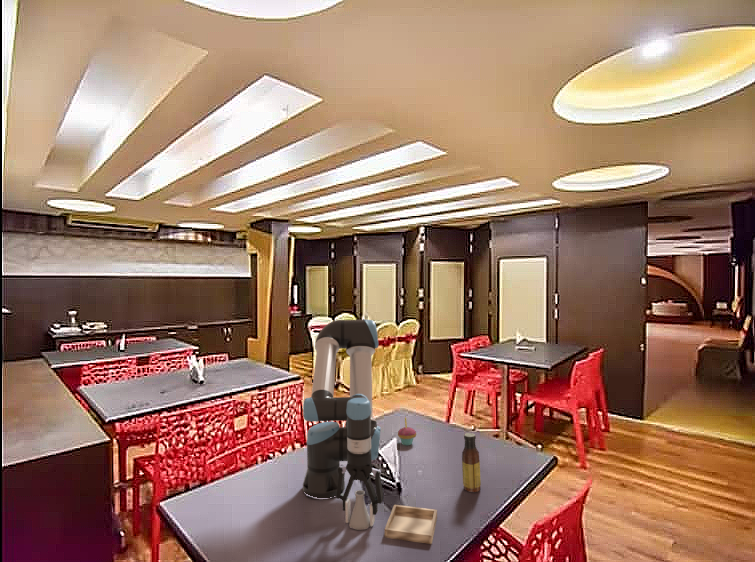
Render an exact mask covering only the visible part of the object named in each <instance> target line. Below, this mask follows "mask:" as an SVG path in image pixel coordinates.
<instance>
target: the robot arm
mask: <svg viewBox="0 0 755 562" xmlns="http://www.w3.org/2000/svg"><path fill="white" fill-rule="evenodd" d="M378 336H379V335H378V330H377V325H376V322H375V321H374V320H372V319H365V318H362V319H336V320H333V321H331V322H329V323H328V324H326V325H324V327H322V329H321V330H320V331H319V333H318V334H317V336H316V338H315V342H314V349H315V351H316V356H315V363H314V371H313V380H312V388H311V397H306V398H304V400H303V404H302V405H303V407H302V408H303V409H302V411H303V412H302V413H303V415H302V416H303V419H304V421H307V422H316V424H314V425H313V426H311V427H310V428H309V429H308V430H307V433H306V442H305V443H306V449H307V451H306V452H307V453H306V457H307V458H306V459H307V460H306V461H307V470H306V472H305V476H304V479H303V482H302V492H303V491H304V492H305V493H306V494H308V495H310V496H313V497H317V498H330V497H334V496H336V497H334V498H336V499H338V500H341V501H342V511H345V512H344V513H345V523H346V524H349V520H350V517H351V497H349V494H350V493H351V489H352V486H353V484H354V482H355V481H361V482H363V484H364V486H365V487H366V490H367V493H368V496H369V499H370V501H371V503H370V504H369V516H370V526H369V527H373V526H374V524H375V516H376V515H377V514H378V511H379V510H378V509H379V508H378V504H379V505H381V504H382V503H383V501H384V493H383V485H382V478H381V477H382V476H381V475H382V469H381V468H374V467H373V464H372V461H375V460H377V459H378V457H379V449H380V440H381V430H382V427H381V426H379V425H378V421H377V419H375V418H374V416H373V415H374V414H373V376H372V375H373V374H372V373H373V368H372V367H373V366H372V356H374V354H375V353H376V349H377V348H379V337H378ZM340 349H342V350H343V349H345V352H346V354H347V355H348V356H349V396H343V397H334V391H335V379H336V376H335V375H336V364H337V353H338V352H339V351H340ZM336 421H339V422H342V421H345V426H342V427H341V426H340V424H339V423H338V422H336ZM317 422H320V423H317ZM340 462H347V464H346V465H343V464H341V463H340ZM346 472H347V473H348V475H349V478H348V481H347V482H348V483H347V484H346V481H345V475H346ZM371 473H372V474H373V477H374V485H375V487H374V485H373V483H372V479H371ZM345 485H346V486H345ZM330 499H331V498H330Z"/></svg>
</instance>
